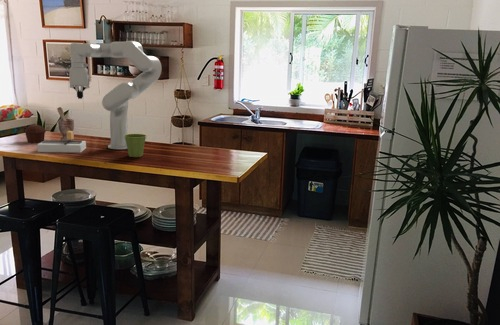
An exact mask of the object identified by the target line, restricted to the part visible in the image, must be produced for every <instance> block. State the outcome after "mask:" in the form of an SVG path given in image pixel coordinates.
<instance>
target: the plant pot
mask: <svg viewBox="0 0 500 325" xmlns="http://www.w3.org/2000/svg"><path fill="white" fill-rule="evenodd" d="M147 136H148V135H147V134H143V133H128V134H126V135H124V137H125V140H126V143H127V149H126V150H127V153H128V157H130V158H141V157H143V155H144V148H145V142H146V138H147Z"/></svg>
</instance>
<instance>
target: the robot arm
mask: <svg viewBox="0 0 500 325" xmlns="http://www.w3.org/2000/svg"><path fill="white" fill-rule="evenodd" d="M69 45H70V46H69V47H70V48H69V50H70V66H71V67H70V68H69V77H68V78H69V80H68V82H69V88H70V89H74V90H75V91H76V97H77V99H79V100H82V99H83V98H84V91H85V90H87V89H90V87H91V86H90V75H89V71H88V70H89V69H88V68H87V67H89V64H88V63H86V58H113V59H114V58H115V59H117V58H126V59H127V60H128V61H129V62H130V63H131V64H132V65H133V66H134V67H136V68H137V70H140V71H141V73H140V74H138V75H137V76H136V77H134V78H133V79H131V80H130V81H124V82H121V83H120V84H118V85H117V86H115V87H114V88H113V89H112V90H110V91H108V93H106V94H105V95H104V96H103V97H102V100H101V104H102V107H103V108H104V109H105V110H106V111H108V112H109V128H110V129H109V131H110V132H109V134H110V144H108V145H107V147H108V149H109V150H128V149H127V143H126V140H125V137H124V135H126V134H129V133H128V111H129V110H128V109H129V100H134V99H136V98H138V97H139V96H140V95H141V94H142V93H144V92H146V91H147V90H148V89H149V88H151V86H152V85H154V84H155V83H156V82H157V81H158V80H159V78H160V76H161V74H162V70H163V69H162V63H161V61H160V59H159V58H158V57H157V56H153V55H147V54H145V53H144V49H143V46H142V44H141V43H140V42H138V41H135V40H126V41H112V42H109V43H92V42H86V43H81V42H72V43H70V44H69Z"/></svg>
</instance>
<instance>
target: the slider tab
mask: <svg viewBox="0 0 500 325" xmlns="http://www.w3.org/2000/svg"><path fill="white" fill-rule="evenodd" d="M66 133H67V140H69V142H72V139H73V140H74V139H75V137H74V136H75V135H74V130H73V131H68V132H66Z"/></svg>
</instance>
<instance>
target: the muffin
mask: <svg viewBox="0 0 500 325" xmlns="http://www.w3.org/2000/svg"><path fill="white" fill-rule="evenodd" d="M23 132H24V133H25V134H24V135H25V137H26V141H27V143H28V144H39V143H41V142H42V141H44V140H45V134H46V132H47V130H46V129H45V128H44V127H43V126H41V125H39V124H31V125H28V126H27V127H26V128H25V130H24V131H23Z"/></svg>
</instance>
